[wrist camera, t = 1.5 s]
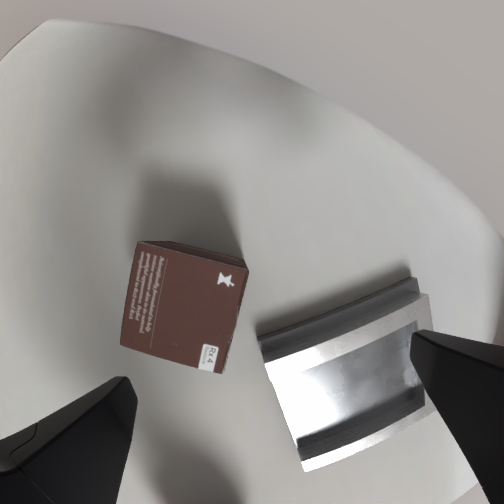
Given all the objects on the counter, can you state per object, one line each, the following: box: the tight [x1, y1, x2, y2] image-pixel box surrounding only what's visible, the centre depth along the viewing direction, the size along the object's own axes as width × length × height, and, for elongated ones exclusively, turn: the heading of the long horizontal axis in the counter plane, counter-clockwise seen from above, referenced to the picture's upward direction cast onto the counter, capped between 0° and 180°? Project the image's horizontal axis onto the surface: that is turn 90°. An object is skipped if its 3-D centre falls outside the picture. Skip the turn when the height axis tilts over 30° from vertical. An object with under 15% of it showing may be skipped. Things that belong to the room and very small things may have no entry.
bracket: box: [257, 277, 437, 472], centre depth 21 cm, size 14×14×3 cm
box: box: [120, 241, 249, 374], centre depth 18 cm, size 6×6×7 cm
